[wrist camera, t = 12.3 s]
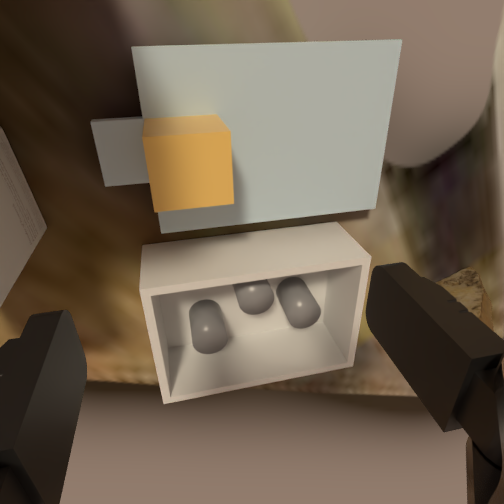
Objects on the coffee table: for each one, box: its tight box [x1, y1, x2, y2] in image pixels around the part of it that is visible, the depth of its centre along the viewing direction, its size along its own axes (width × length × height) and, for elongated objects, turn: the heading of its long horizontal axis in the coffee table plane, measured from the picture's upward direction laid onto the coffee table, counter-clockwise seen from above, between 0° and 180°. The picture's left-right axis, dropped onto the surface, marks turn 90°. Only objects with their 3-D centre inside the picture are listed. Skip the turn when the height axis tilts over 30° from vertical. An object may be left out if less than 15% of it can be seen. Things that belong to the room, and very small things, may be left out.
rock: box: [436, 267, 494, 331], centre depth 36 cm, size 11×9×10 cm
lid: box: [90, 39, 402, 234], centre depth 23 cm, size 20×12×7 cm, turn 91°
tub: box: [139, 222, 371, 404], centre depth 30 cm, size 16×11×6 cm
